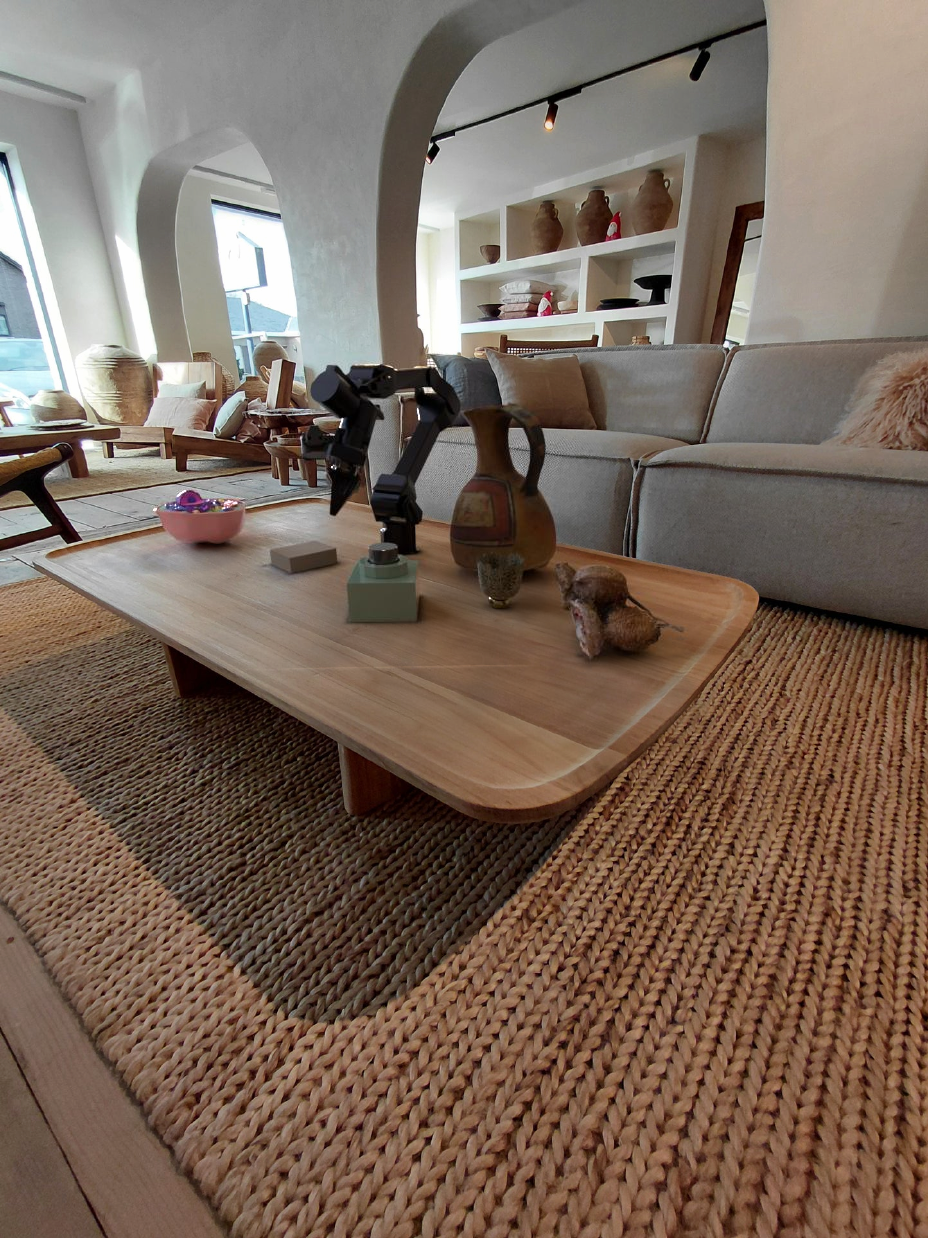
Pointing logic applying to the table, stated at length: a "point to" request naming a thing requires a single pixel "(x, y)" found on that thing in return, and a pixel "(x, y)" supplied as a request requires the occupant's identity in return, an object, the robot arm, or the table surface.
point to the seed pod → (606, 609)
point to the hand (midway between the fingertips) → (332, 515)
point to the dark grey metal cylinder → (383, 553)
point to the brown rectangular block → (303, 556)
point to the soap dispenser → (383, 591)
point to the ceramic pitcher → (503, 494)
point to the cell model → (202, 518)
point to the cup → (500, 577)
